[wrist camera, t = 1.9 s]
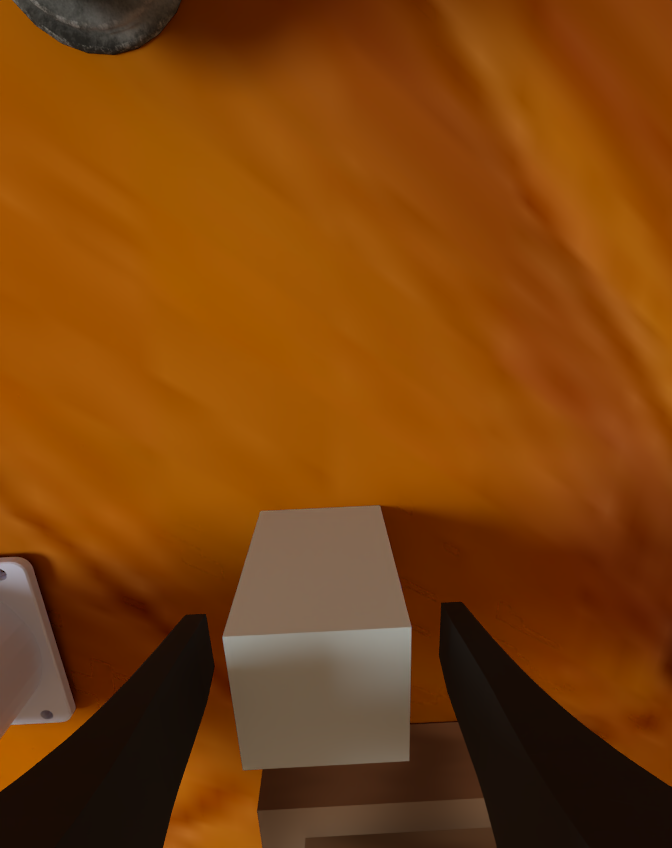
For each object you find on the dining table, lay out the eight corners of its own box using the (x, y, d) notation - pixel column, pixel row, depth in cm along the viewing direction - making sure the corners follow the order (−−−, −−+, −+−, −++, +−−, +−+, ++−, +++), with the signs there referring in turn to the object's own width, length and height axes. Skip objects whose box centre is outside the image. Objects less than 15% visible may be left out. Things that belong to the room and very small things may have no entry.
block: (271, 608, 17) (242, 770, 11) (260, 510, 15) (222, 636, 10) (380, 603, 17) (409, 760, 11) (379, 505, 16) (411, 627, 10)
